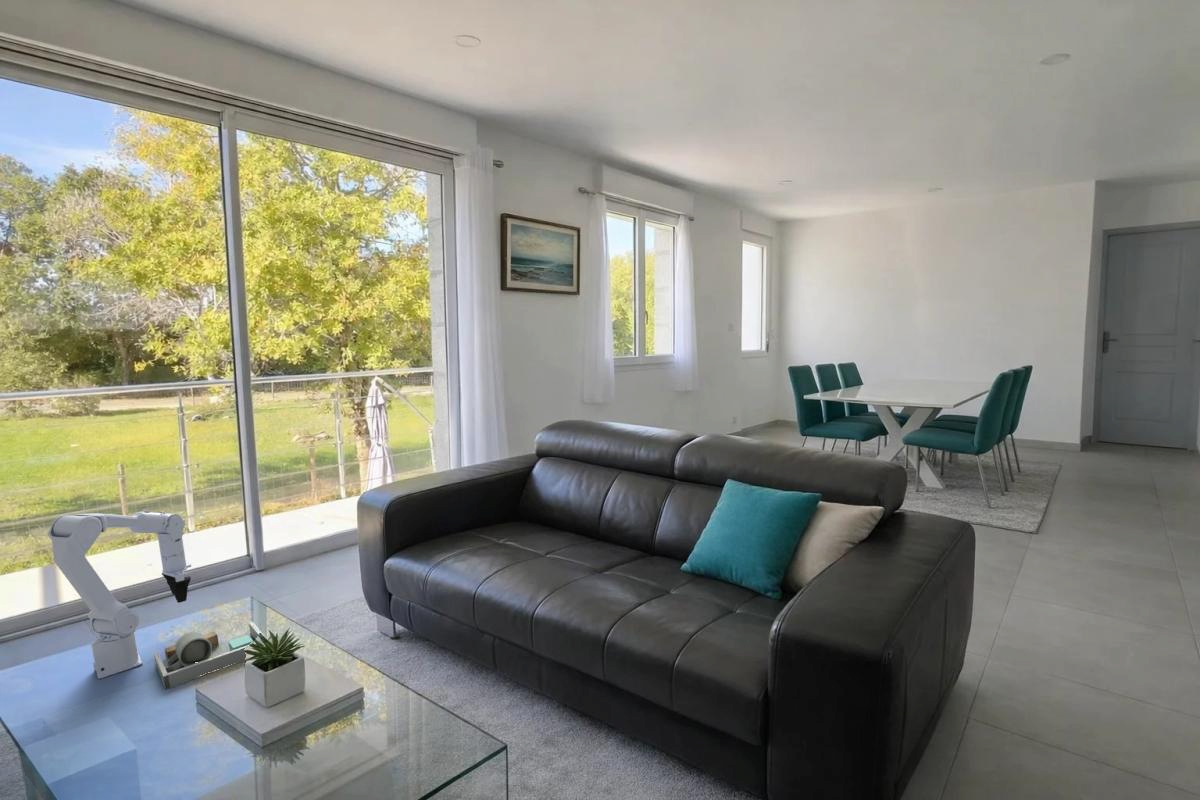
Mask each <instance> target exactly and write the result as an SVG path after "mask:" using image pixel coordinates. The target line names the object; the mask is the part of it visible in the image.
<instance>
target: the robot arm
mask: <svg viewBox="0 0 1200 800" xmlns="http://www.w3.org/2000/svg"><path fill="white" fill-rule="evenodd" d="M185 526H186V520H184V519H183V517H182V516H181V515H180V514H178V513H167V512H165V511H158V512H151V510H150V509H142V510H141V511H137V512H135V513H134V514H133V515H125V514H110V513H109V514H108V513H97V512H96V513H75V514H74V515H72V514H61V515H59V516H58V517H56V518H55V519H54V520H53V521H52V523H51V525H50V527H49V530H48V533H47V536H48V537H49V539H50V540H51V545H52V554H53V561H54V563H55V564H56V566H57V567H58V569H59V570H60V571H61V572H62V574H63V575H64V576H65V578H66V580H67V581H68V583H70V585H71V586H72V588H73V589H74V590H75V592H76V593H77V594H78V595H79V596H80V598H81V599H82V601H83V602H84V603H85V605H86V607H88V609H89V613H88V614H87V617H88V618H89V621H90V628H91V630H92V631H93V632H94V633H97V634H98V637H99V638H98V639H96V640H94V641H92V642H90V644H91V650H92V656H93V660H94V662H93V663H92V664H93V670H95V671H96V675H97V678H98V680H99V679H103V678H106V677H109V676H112V675H115V674H118V673H121V672H124V671H127V670H130V669H133V668H136V667H138V666H141V665H143V661H142V659H141V656H140V654H139V652H138V648H137V642H136V641H137V640H136V635H135V632H136V630H137V628H138V625H139V622H140V619H139V615H138V613H137V612H135V611H133V610H131V609H129V608H128V606H127V605H126V604H124V603H122V602H121V601H118V600H117V599H116V598H115V597H114V595H113V593H112V592H111V591H110V589H109V588H108V587H107V586H106V584H105V583H104V582H103V580H102V579H101V577H100V576H99V574H98V573H97V571H96V570H95V569H94V567H93V566H92V564H91V563H90V562H89V560H88V559H87V557H86V554H87V553H88V552H89V551H90V549H91V548H92V547H93V545H94V543H96V541H97V539H98V538H99V536H100V535H101V533H105V532H106V531H107V529H108V528H129V529H130V530H131V532H132V533H136V534H139V533H140V534H155V535H156V534H157V540H158V545H159V554H160V559H161V564H162V565H161V566H162V572H161V575H162V577H164V579H165V580H166V583H167V585H168V586H169V589H170V591H171V594H172V595H173V596H174V598H175V600H176V602H177V603H178V604H179V603H183V602H186V601H187V599H188V598H187V596H188V590H189V589H188V588H189V584H190V583H191V579H192V577H191V576H190V575H189V576H185V575H184V574H185V573H186V571H187V569H189V568H191V567H192V563H190V562H189V563H188V562H187V560H186V555H185V554H186V553H185V548H184V547H185V546H184V540H183V536H184V531H183V530H184V528H185Z"/></svg>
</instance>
